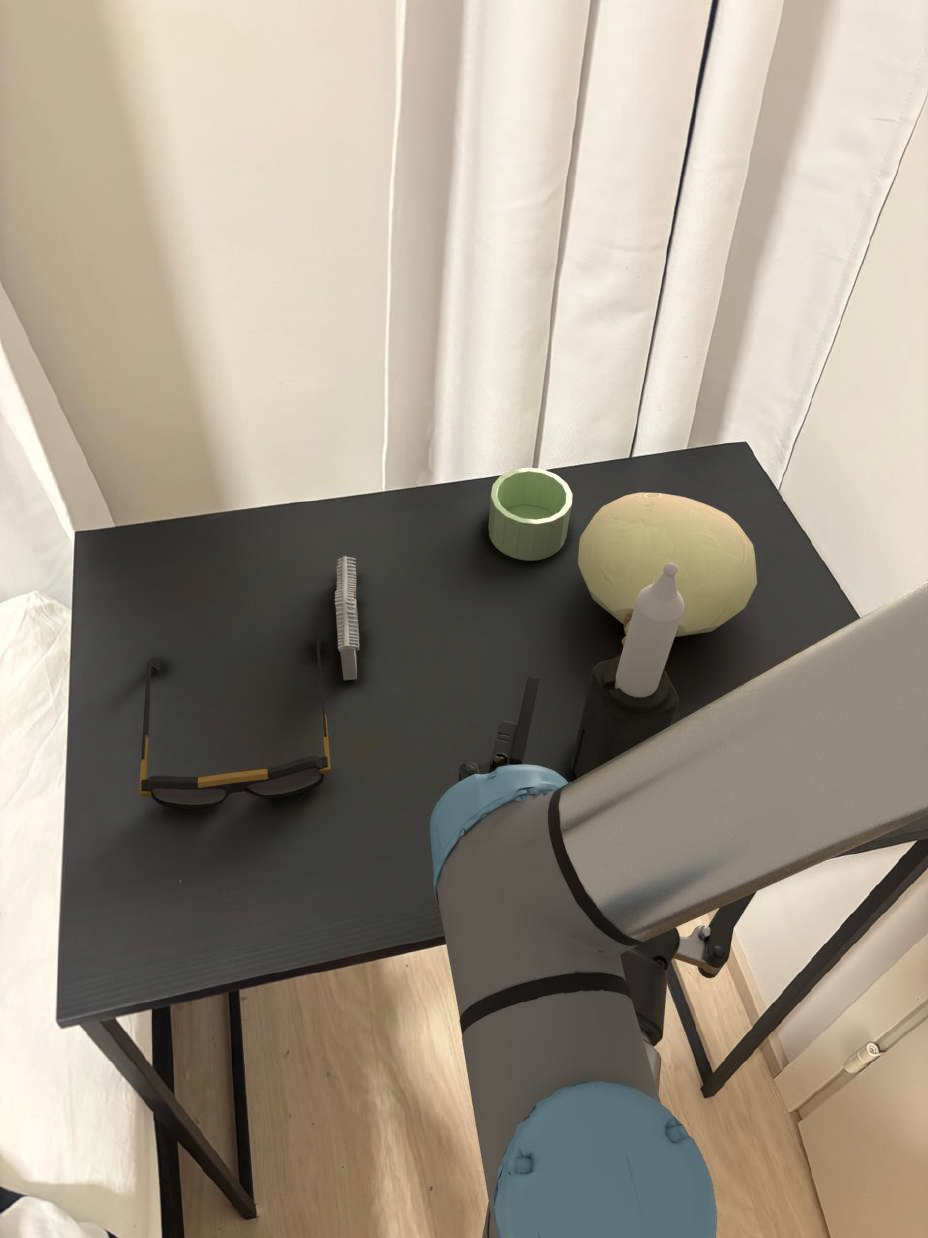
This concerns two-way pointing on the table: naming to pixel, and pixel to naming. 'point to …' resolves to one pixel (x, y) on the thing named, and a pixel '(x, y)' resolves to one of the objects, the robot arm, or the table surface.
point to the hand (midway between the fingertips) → (631, 708)
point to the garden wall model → (347, 616)
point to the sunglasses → (219, 787)
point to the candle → (632, 681)
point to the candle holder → (529, 513)
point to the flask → (668, 558)
